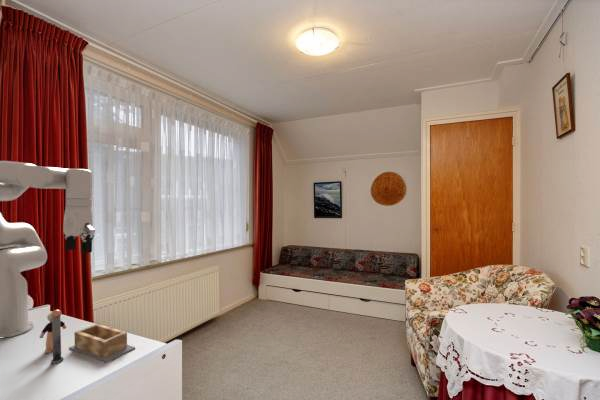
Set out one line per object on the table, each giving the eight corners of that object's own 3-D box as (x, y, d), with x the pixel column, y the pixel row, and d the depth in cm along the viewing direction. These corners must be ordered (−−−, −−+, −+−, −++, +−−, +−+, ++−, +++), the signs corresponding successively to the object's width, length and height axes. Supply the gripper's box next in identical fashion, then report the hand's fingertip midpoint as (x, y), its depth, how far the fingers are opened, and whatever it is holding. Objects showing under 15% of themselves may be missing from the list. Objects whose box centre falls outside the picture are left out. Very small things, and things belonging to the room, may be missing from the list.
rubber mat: (69, 348, 102) (69, 347, 102) (98, 336, 111) (98, 335, 111) (106, 363, 94) (106, 361, 94) (135, 348, 102) (135, 347, 102)
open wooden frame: (74, 346, 102) (74, 332, 102) (97, 337, 109) (97, 323, 109) (104, 357, 96) (104, 342, 96) (127, 346, 103) (126, 332, 102)
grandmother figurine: (47, 355, 98) (46, 316, 98) (38, 353, 99) (37, 315, 99) (69, 343, 106) (69, 307, 105) (60, 342, 106) (60, 306, 106)
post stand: (48, 362, 94) (47, 310, 93) (59, 357, 97) (58, 307, 96) (54, 365, 93) (53, 312, 92) (65, 360, 95) (64, 308, 95)
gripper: (53, 202, 108) (53, 250, 109) (81, 205, 101) (81, 256, 101) (76, 202, 115) (76, 246, 116) (104, 204, 108) (104, 252, 108)
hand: (78, 251), depth 108 cm, fingers open, 9 cm apart
